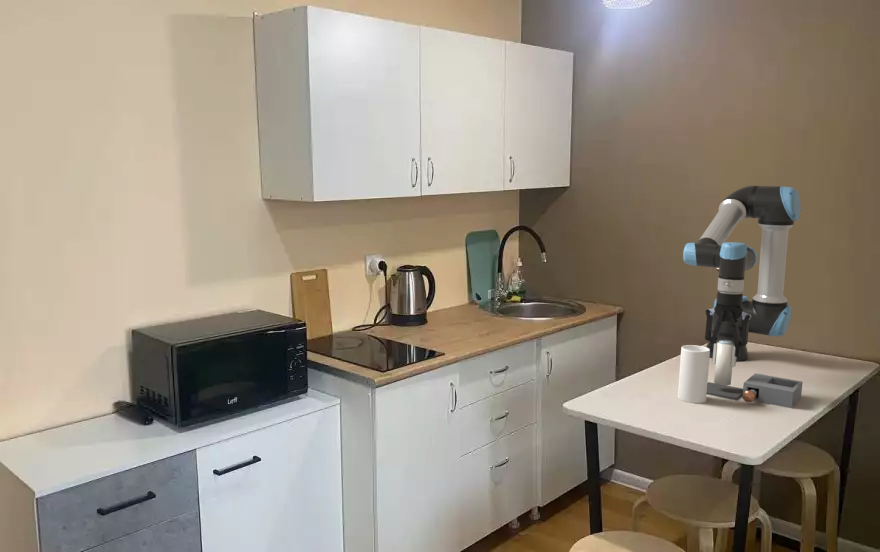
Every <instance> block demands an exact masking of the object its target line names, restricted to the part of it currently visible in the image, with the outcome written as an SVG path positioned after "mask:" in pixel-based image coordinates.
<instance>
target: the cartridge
mask: <svg viewBox="0 0 880 552" xmlns="http://www.w3.org/2000/svg"><path fill="white" fill-rule="evenodd" d="M733 346H734V343H733V342H732V341H730V340H719V341H718V342H717V352H716V364H714V375H713V376H714V378H713V383H716V384H719V385H727V386H731V384H732V375H733V367H731V359H732V348H733Z"/></svg>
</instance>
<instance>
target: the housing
mask: <svg viewBox="0 0 880 552" xmlns="http://www.w3.org/2000/svg"><path fill="white" fill-rule="evenodd" d="M803 383H804V382H803V381H801V380H795V379H790V378H784V377H778V376H773V375H768V374H767V375H766V374H762V373H761V374H760V373H754V374H753V375H751V376H750V377H748V379H746V381H744V382H743V388H742V389H743V393H744V392H745V391H747V390H751V389H752V388H757V389H759V393H758V394H757V395H756V398H755V400H754V401H753V402H758V403H763V404H768V405H774V406H777V407H783V408H788V409H789V408H790V409H792V408H793V407H795V406H796V404H797V403H798V402H799V400H800V399H801V397H802V394H803V393H802V392H803ZM741 397H742V396H741ZM742 400H744V399H743V397H742Z"/></svg>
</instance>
